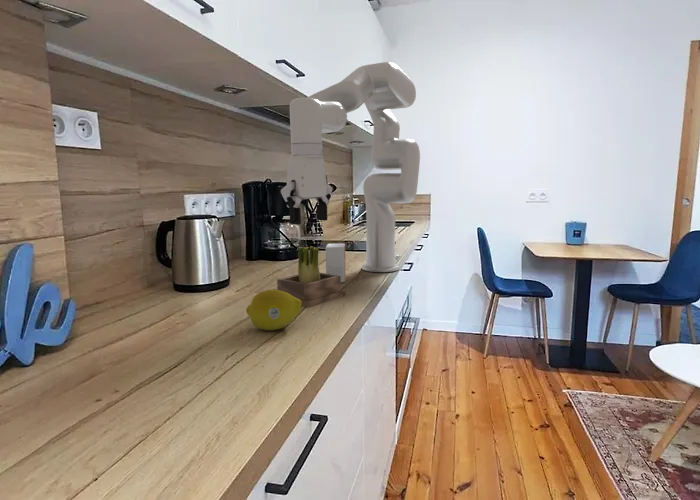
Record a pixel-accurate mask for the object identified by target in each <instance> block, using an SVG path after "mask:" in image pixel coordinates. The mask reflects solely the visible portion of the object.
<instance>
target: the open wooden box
mask: <svg viewBox="0 0 700 500" xmlns="http://www.w3.org/2000/svg"><path fill="white" fill-rule="evenodd" d="M320 279H321V280H318V281H315V282H311V283H302V282H299V275H298V274H293V275H290V276H285V277H282V278H278V279H277V283H276V285H277V290H281V291H284V292H287V293H289V294H290V295H292V296H293V297H295V298H298V299H299V300H301V307H307V308H309V307H312V306H315V305H318V304H321V303H323V302H328V301H329V300H331V301H332V300H334V299H337V298H339V297H343V296H345V295H346V290H342V288H341V286H342V282H341V276H338V275H332V274H326V272H325V273H324V272H320Z"/></svg>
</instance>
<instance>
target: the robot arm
mask: <svg viewBox="0 0 700 500" xmlns="http://www.w3.org/2000/svg"><path fill="white" fill-rule="evenodd" d="M416 97H417V91H416V86H415V84H414V82H413V80H412V79H411V78H410V77H409V76H408V74H406V72H404V71H403V70H402V68H400V67H399V66H398V65H397V64H396V63H393V62H392V61H391V62H390V61H382V62H377V63H370V64H365V65H361V66H359V67H357V68H355V69H354V70H353V71H351V73H349V75H347V76H346V77H345V78H343V79H342V80H341V81H340V82H337V83H335V84H333V85H330V86H328V87H327V88H323V90H319V91H317V92H315V93H313V94H311V95H309V96H308V97H298V98H297V97H296V98H294V99H292V100H291V101H290V102H289V122H290V123H289V125H290V127H289V130H290V148H291V149H290V150H291V153H290V154H291V157H288V164H287V171H286V185H285V186H284V187H282V188H281V189H280V194H281V197H282V198H283V202H284V203H285V204H286V207H287V208H288V211H289V224H290V225H301V223H302V218H301V217H302V216H301V207H300V204H301V202H302V201H303V200H312V199H315V201H316V202H317V204H316V220H317V221H325V222H326V221H328V205H329V204H330V202H329V201H330V199H331V197H332V192H333V186H331V185H330V184H328V182H327V175H326V166H325V160H324V157H323V152H324V150H323V134H327V133H328V134H329V133H337V132H339V131H341V130H342V129H344V127H345V126H346V124H347V121H348V113H352V112H354V111H355V110H357V109H360V108H361V106H362V105H364V106H365V107H366V109H367V111H368V113H369V116H370V118H371V121H372V123H373V135H372V142H371V143H372V145H371V146H372V147H371V155H370V156H371V157H370V158H371V165H372V166H373V168H374V169H376V170H381V171H395V170H397V171H400V172H397V173H396V172H395V173H394V172H393V173H390V172H386V173H385V172H383V173H382V172H381V173H380V172H379V173H373V174H369V175H368V176H367V177H366V178H365V179H364V181H363V186H362V187H363V196H364V201H365V213H366V214H365V215H366V216H365V217H366V222H365V223H366V227H365V228H366V230H365V231H366V236H365V237H366V242H365V243H366V245H365V247H366V249H365V250H366V253H365V255H366V259H365V260H366V262H365V263H363V264H361V269H362V271H365V272H371V273H390V272H391V273H392V272H396V271H398V270H400V265H399V264H398V263H396V261H399V260H401V255H400V254H395V253H396V248H395V247H396V215H395V212H394V210H393V208H392V206H391V204H410V203H412V202H413V201H414V200H415V199H416V196H417V192H418V184H419V182H418V181H419V174H420V164H421V163H420V162H421V153H420V152H421V151H420V147H419V144H418V143H417V141H415V140H414V139H410V138H401V139H400V130H401V129H400V127H401V126H400V123H399V121H398V119H397V118H396V116H395V115H394V114H393V113H392V112H391V110H397V109H407V108H409V107H411V106H412V105H414V103H415V102H416Z"/></svg>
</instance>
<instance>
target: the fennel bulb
mask: <svg viewBox="0 0 700 500" xmlns="http://www.w3.org/2000/svg"><path fill="white" fill-rule="evenodd" d="M297 253H298V255H297V256H298V267H297V269H298V270H297V271H298V275H299V282H302V283H311V282H315V281H318V280H321V279H320V273H321V272H320V268H319V267H320V266H319V248H318V247H315V246H307V247H303V246H298V247H297Z"/></svg>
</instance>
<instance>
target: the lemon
mask: <svg viewBox="0 0 700 500" xmlns="http://www.w3.org/2000/svg"><path fill="white" fill-rule="evenodd" d="M250 302H251V303H250V304H249V305H248V306H247V307H246V314H247V315H248V317H249V318H250V321H251V323H252V324H253V326H255V327H256V328H257V329H261V330H263V331H276V330H280V329H282V328H284V327H286V326H288V325H289V324H291V323H292V322H293V321H294V319H295V318H296V317H297V316H298V315H299V314H300V313H301V311H302V310H301V309H302V306H301V300H299V299H298V298H295V297H293V296H292V295H290V294H289V293H287V292H284V291H281V290H278V289H267V290H263V291H260V292H258V293H257V294H255V295H254V296H253V298H252V300H251V301H250Z"/></svg>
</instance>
